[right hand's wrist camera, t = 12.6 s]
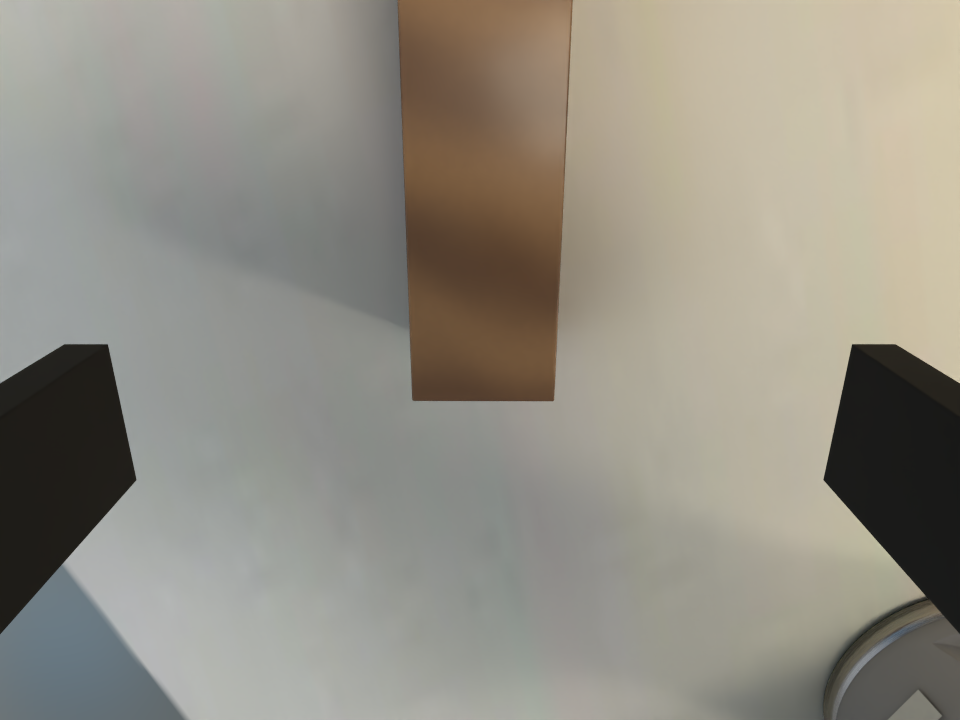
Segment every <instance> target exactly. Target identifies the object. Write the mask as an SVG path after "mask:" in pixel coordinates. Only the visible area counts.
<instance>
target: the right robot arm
mask: <svg viewBox="0 0 960 720" xmlns="http://www.w3.org/2000/svg"><path fill="white" fill-rule="evenodd" d="M135 481H136V475H135V471H134V466H133V461H132V457H131V452H130V447H129V442H128V438H127V433H126V428H125V423H124V419H123V414H122V409H121V405H120V400H119V395H118V390H117V386H116V381H115V376H114V371H113V367H112V362H111V357H110V352H109V348H108V344H64V345H63V346H61V347H59V348H58V349H56V350H54V351H53V352H51V353H49V354H48V355H46V356H45V357H43V358H41V359H40V360H38V361H36V362H35V363H33V364H31V365H30V366H28V367H26V368H25V369H23V370H22V371H20V372H18V373H17V374H15V375H13V376H12V377H10V378H8V379H7V380H5V381H4V382H2V383H0V634H1V633H2V632H3V630H4V629H5V628H6V627H7V626H8V625H9V624H10V623H11V621H12V620H13V619H14V618H15V617H16V616H17V614H18V613H19V612H20V611H21V610H22V609H23V608H24V607H25V606H26V604H27V603H28V602H29V601H30V600H31V599H32V598H33V596H34V595H35V594H36V593H37V592H38V591H39V590H40V589H41V587H42V586H43V585H44V584H45V583H46V582H47V581H48V580H49V578H50V577H51V576H52V575H53V574H54V573H55V572H56V570H57V569H58V568H59V567H60V566H61V565H62V564H63V563H64V561H65V560H66V559H67V558H68V557H69V556H70V555H71V553H72V552H73V551H74V550H75V549H76V548H77V547H78V546H79V544H80V543H81V542H82V541H83V540H84V539H85V538H86V537H87V535H88V534H89V533H90V532H91V531H92V530H93V529H94V527H95V526H96V525H97V524H98V523H99V522H100V521H101V520H102V518H103V517H104V516H105V515H106V514H107V513H108V512H109V510H110V509H111V508H112V507H113V506H114V505H115V504H116V503H117V501H118V500H119V499H120V498H121V497H122V496H123V495H124V494H125V492H126V491H127V490H128V489H129V488H130V487H131V486H132V484H133V483H134V482H135ZM824 481H825V482H826V483H827V484H828V486H829V487H830V488H831V489H832V490H833V491H834V492H835V494H836V495H837V496H838V497H839V498H840V499H841V500H842V501H843V503H844V504H845V505H846V506H847V507H848V508H849V509H850V510H851V512H852V513H853V514H854V515H855V516H856V517H857V518H858V520H859V521H860V522H861V523H862V524H863V525H864V526H865V527H866V529H867V530H868V531H869V532H870V533H871V534H872V535H873V537H874V538H875V539H876V540H877V541H878V542H879V543H880V544H881V546H882V547H883V548H884V549H885V550H886V551H887V552H888V553H889V555H890V556H891V557H892V558H893V559H894V560H895V561H896V563H897V564H898V565H899V566H900V567H901V568H902V569H903V570H904V572H905V573H906V574H907V575H908V576H909V577H910V578H911V580H912V581H913V582H914V583H915V584H916V585H917V586H918V587H919V589H920V590H921V591H922V592H923V593H924V594H925V595H926V596H927V598H928V599H929V600H926V601H923V602H919V603H917V604H914V605H912V606H909V607H907V608H905V609H903V610H901V611H899V612H896V613H894V614H893V615H891V616H889V617H887V618H886V619H884V620H882V621H881V622H879V623H878V624H876V625H875V626H873V627H872V628H871V629H870V630H868V631H867V632H866V633H864V634H863V635H862V636H861V637H860V638H859V639H858V640H857V641H856V642H854V644H853V645H852V646H851V647H850V648H849V649H848V650H847V651H846V652H845V654H844V655H843V656H842V658H841V659H840V660H839V662H838V663H837V665H836V667H835V668H834V670H833V672H832V674H831V676H830V678H829V681H828V684H827V687H826V690H825V695H824V703H823V713H824V720H960V383H958V382H956V381H955V380H953V379H952V378H950V377H948V376H947V375H945V374H943V373H942V372H940V371H938V370H937V369H935V368H934V367H932V366H930V365H929V364H927V363H925V362H924V361H922V360H920V359H919V358H917V357H915V356H914V355H912V354H911V353H909V352H907V351H906V350H904V349H902V348H901V347H899V346H897V345H896V344H852V348H851V352H850V357H849V362H848V367H847V371H846V376H845V381H844V386H843V390H842V395H841V400H840V405H839V409H838V414H837V419H836V423H835V428H834V433H833V438H832V442H831V447H830V452H829V457H828V461H827V466H826V471H825V475H824Z"/></svg>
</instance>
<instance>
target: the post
mask: <svg viewBox="0 0 960 720" xmlns="http://www.w3.org/2000/svg"><path fill="white" fill-rule="evenodd" d="M572 3H573V0H398V25H399V52H400V79H401V107H402V134H403V161H404V188H405V215H406V242H407V270H408V297H409V324H410V351H411V378H412V400H413V401H554V392H555V371H556V349H557V327H558V306H559V284H560V262H561V241H562V219H563V198H564V176H565V154H566V133H567V111H568V90H569V68H570V46H571V25H572Z"/></svg>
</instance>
